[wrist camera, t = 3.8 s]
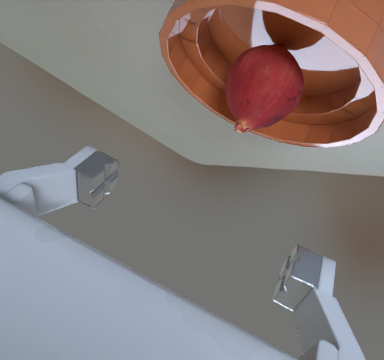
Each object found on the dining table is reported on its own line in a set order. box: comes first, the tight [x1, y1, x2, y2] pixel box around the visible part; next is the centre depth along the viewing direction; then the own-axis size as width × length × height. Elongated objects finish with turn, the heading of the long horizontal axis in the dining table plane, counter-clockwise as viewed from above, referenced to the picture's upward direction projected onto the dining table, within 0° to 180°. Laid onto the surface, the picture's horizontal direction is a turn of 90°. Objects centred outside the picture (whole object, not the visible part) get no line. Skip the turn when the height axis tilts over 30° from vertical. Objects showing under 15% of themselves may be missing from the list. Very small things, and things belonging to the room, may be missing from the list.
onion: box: [225, 43, 304, 134], centre depth 25 cm, size 6×6×8 cm
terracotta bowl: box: [159, 0, 384, 147], centre depth 25 cm, size 17×17×4 cm
